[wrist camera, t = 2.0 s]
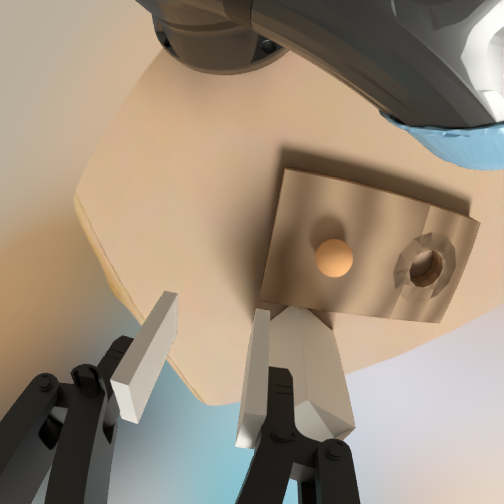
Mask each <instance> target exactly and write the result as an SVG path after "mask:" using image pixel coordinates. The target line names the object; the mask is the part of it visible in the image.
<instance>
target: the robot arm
mask: <svg viewBox="0 0 504 504" xmlns="http://www.w3.org/2000/svg"><path fill="white" fill-rule="evenodd" d="M136 1H137V2H138V3H139V4H141V5H142V6H143V7H144V8H145V9H146V10H148V11H149V12H150V13H151V14H152V18H153V24H154V29H155V32H156V35H157V38H158V40H159V41H160V43H161V45H162V46H163V47H164V49H165V50H166V51H167V52H168V53H169V54H170V55H171V56H173V57H174V58H175V59H177V60H178V61H179V62H181V63H182V64H184V65H185V66H187V67H189V68H191V69H194V70H196V71H200V72H203V73H208V74H214V75H235V74H242V73H247V72H251V71H254V70H258V69H260V68H263V67H265V66H267V65H269V64H271V63H273V62H275V61H276V60H278V59H279V58H281V57H282V56H283V55H284V54H286V53H287V52H288V51H289V50H291V51H292V52H294V53H296V54H298V55H299V56H301V57H303V58H305V59H306V60H308V61H310V62H311V63H313V64H315V65H316V66H318V67H319V68H321V69H323V70H324V71H326V72H327V73H329V74H330V75H332V76H333V77H335V78H336V79H338V80H339V81H341V82H342V83H344V84H345V85H347V86H348V87H349V88H351V89H352V90H354V91H355V92H356V93H358V94H359V95H360V96H362V97H363V98H364V99H366V100H367V101H368V102H370V103H371V104H372V105H374V106H375V107H376V108H377V109H378V110H379V112H380V114H381V115H382V116H383V117H384V118H385V119H386V120H387V121H388V122H390V123H392V124H393V125H395V126H397V127H399V128H401V129H404V130H406V131H407V132H408V133H410V134H411V135H412V136H413V137H414V138H415V139H417V140H418V141H419V142H420V143H421V144H422V145H423V146H425V147H426V148H427V149H428V150H429V151H430V152H432V153H433V154H434V155H436V156H437V157H439V158H440V159H442V160H444V161H448V162H451V163H453V164H456V165H458V166H460V167H464V168H467V169H474V170H502V169H504V0H136ZM177 315H178V294H177V293H172V292H168V291H164V293H163V294H162V296H161V297H160V299H159V300H158V302H157V303H156V305H155V306H154V308H153V310H152V311H151V313H150V314H149V316H148V318H147V319H146V321H145V322H144V324H143V325H142V327H141V329H140V330H139V332H138V334H137V335H136V337H135V338H134V339H133V338H129V337H126V336H123V335H122V336H121V337H119V338H118V339H116V340H115V341H114V342H113V343H112V345H111V346H110V348H109V350H108V351H107V352H106V354H105V356H104V357H103V358H102V360H101V361H100V363H99V364H98V366H97V367H96V366H93V365H91V364H83V365H79V366H77V367H76V368H74V369H73V370H72V372H71V376H72V379H73V381H74V384H67V383H59V382H58V380H57V378H56V377H55V376H54V375H52V374H49V373H42V374H39V375H37V376H36V377H35V378H34V379H33V380H32V381H31V383H30V384H29V385H28V386H27V388H26V389H25V390H24V391H23V393H22V394H21V395H20V397H19V398H18V399H17V400H16V402H15V403H14V404H13V406H12V407H11V408H10V410H9V411H8V412H7V414H6V415H5V416H4V418H3V419H2V420H1V422H0V504H31V503H32V501H33V499H34V497H35V494H36V493H37V491H38V489H39V487H40V485H41V483H42V481H43V480H44V478H45V476H46V474H47V472H48V470H49V468H50V467H51V465H52V468H51V472H50V477H49V482H48V487H47V492H46V497H45V503H44V504H107V498H108V489H109V480H110V472H111V464H112V457H113V451H114V444H115V438H116V432H117V420H116V419H117V417H118V415H119V413H120V414H121V417H122V419H125V420H128V421H131V422H134V423H137V424H138V423H139V420H140V418H141V415H142V413H143V411H144V408H145V406H146V403H147V401H148V399H149V396H150V394H151V392H152V389H153V387H154V385H155V382H156V380H157V377H158V375H159V373H160V371H161V369H162V366H163V364H164V362H165V359H166V357H167V355H168V353H169V350H170V348H171V346H172V344H173V341H174V339H175V337H176V335H177ZM269 343H270V311H269V310H263V309H257V308H256V311H255V316H254V321H253V325H252V330H251V335H250V340H249V345H248V352H247V359H246V367H245V375H244V383H243V390H242V398H241V406H240V414H239V421H238V428H237V436H236V444H235V446H236V447H243V448H250V449H254V447H255V450H254V451H255V452H254V456H253V458H252V460H251V463H250V466H249V469H248V472H247V474H246V477H245V479H244V482H243V485H242V487H241V490H240V492H239V495H238V497H237V500H236V502H235V504H282V503H283V499H284V496H285V492H286V489H287V485H288V481H289V478H290V479H294V480H296V481H297V485H298V504H360V499H359V492H358V487H357V480H356V475H355V470H354V464H353V459H352V453H351V450H350V448H349V446H348V445H347V444H346V443H345V442H344V441H342V440H340V439H335V438H331V439H326V440H325V441H323V442H320V441H317V440H314V439H311V438H308V437H306V436H304V435H303V434H301V433H300V432H299V430H298V429H297V427H296V425H295V414H294V396H293V395H294V389H293V377H292V375H291V373H290V371H289V369H287V368H279V367H272V366H269ZM52 463H53V464H52Z"/></svg>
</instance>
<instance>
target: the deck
mask: <svg viewBox="0 0 504 504" xmlns="http://www.w3.org/2000/svg"><path fill="white" fill-rule="evenodd" d="M479 226H480V222H478V221H476V220H474V219H473V218H471V217H469V216H466V215H463V214H460V213H457V212H455V211H452V210H449V209H446V208H443V207H440V206H437V205H434V204H431V203H428V202H425V201H422V200H418V199H415V198H412V197H408V196H405V195H402V194H398V193H395V192H391V191H388V190H384V189H380V188H377V187H373V186H369V185H365V184H361V183H357V182H353V181H349V180H345V179H341V178H337V177H332V176H328V175H323V174H319V173H314V172H309V171H304V170H299V169H294V168H289V167H284V171H283V176H282V182H281V187H280V192H279V198H278V203H277V208H276V214H275V219H274V224H273V229H272V235H271V240H270V245H269V250H268V255H267V260H266V265H265V271H264V276H263V281H262V286H261V292H260V301H264V302H271V303H277V304H283V305H289V306H296V307H303V308H309V309H316V310H323V311H331V312H338V313H346V314H354V315H362V316H370V317H379V318H387V319H397V320H407V321H417V322H428V323H440V322H441V320H442V318H443V316H444V314H445V312H446V310H447V308H448V306H449V304H450V301H451V299H452V297H453V295H454V293H455V290H456V288H457V286H458V284H459V281H460V279H461V276H462V274H463V271H464V269H465V266H466V264H467V261H468V259H469V256H470V253H471V250H472V248H473V245H474V242H475V239H476V236H477V233H478V230H479ZM330 239H339V240H342V241H344V242H345V243H346V244H347V245H348V246H349V247H350V248H351V251H352V253H353V263H352V266H351V268H350V269H349V271H348V272H347V273H346V274H344V275H342V276H340V277H329V276H326V275H324V274H323V273H322V272H321V271H320V270H319V269H318V267H317V265H316V260H315V256H316V252H317V249H318V248H319V246H320V245H321V244H322V243H323V242H325V241H327V240H330ZM427 250H433V261H432V264H431V267H430V268H429V269H428V271H427V272H426V273H425V274H424V275H421V276H419V277H416V278H413V277H410V273H409V271H410V268H411V265H412V262H413V261H414V260H415V258H416V257H417V256H418V255H419V254H420V253H422V252H425V251H427Z"/></svg>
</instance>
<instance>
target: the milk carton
mask: <svg viewBox="0 0 504 504" xmlns="http://www.w3.org/2000/svg"><path fill="white" fill-rule="evenodd" d="M269 366H272V367H279V368H287V369H289V371H290V373H291V375H292V377H293V389H294V395H293V396H294V414H295V425H296V427H297V429H298V430H299V432H300V433H301V434H303V435H304V436H306V437H308V438H311V439H314V440H317V441H320V442H323V441H325V440H326V439H331V438H335V439H340V440H342V441H343V440H344V439H345V438H346V437H347V436H348V435H349V434H350V433H351V432H352V431H353V430H354V429H355V422H354V417H353V413H352V408H351V403H350V398H349V394H348V390H347V385H346V380H345V376H344V372H343V368H342V363H341V359H340V355H339V351H338V347H337V343H336V339H335V335H334V332H333V331H332V330H331V329H330V328H328V327H327V326H326V325H325V324H324V323H323V322H322V321H321V320H319V319H318V318H317V317H316V316H315V315H314V314H313V313H312V312H310V311H309V310H308V309H307V308H303V307H296V306H289V307H287V308H286V309H285V310H284V311H282V312H281V313H280V314H279V315H277V316H276V317H275V318H274V319H272V320H271V321H270V343H269Z"/></svg>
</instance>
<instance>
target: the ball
mask: <svg viewBox="0 0 504 504" xmlns="http://www.w3.org/2000/svg"><path fill="white" fill-rule="evenodd" d="M315 260H316V265H317V267H318V269H319V270H320V271H321V272H322V273H323V274H324V275H326V276H329V277H340V276H342V275H344V274H346V273H347V272H348V271H349V269H350V268H351V266H352V263H353V253H352V251H351V248H350V247H349V246H348V245H347V244H346V243H345V242H344V241H342V240H339V239H330V240H327V241H325V242H323V243H322V244H321V245H320V246H319V248H318V249H317V252H316V256H315Z"/></svg>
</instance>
